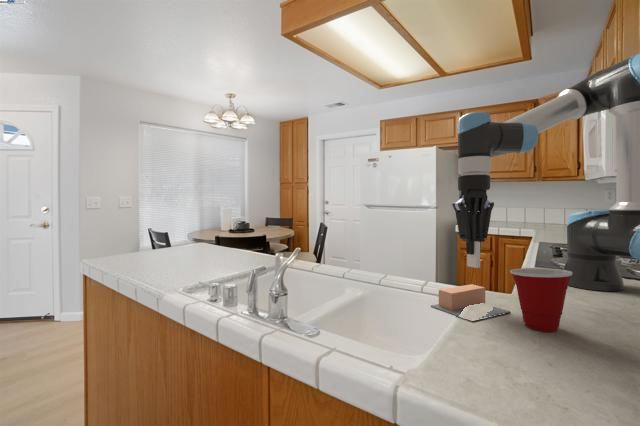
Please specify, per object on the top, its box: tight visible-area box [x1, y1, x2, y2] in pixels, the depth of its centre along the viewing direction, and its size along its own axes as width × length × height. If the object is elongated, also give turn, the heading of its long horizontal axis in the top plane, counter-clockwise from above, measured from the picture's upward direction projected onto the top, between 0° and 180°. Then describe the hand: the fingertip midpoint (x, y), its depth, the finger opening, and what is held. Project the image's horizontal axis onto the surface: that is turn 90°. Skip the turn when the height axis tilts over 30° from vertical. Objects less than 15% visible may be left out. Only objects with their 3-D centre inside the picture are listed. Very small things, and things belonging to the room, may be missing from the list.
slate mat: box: [430, 303, 511, 319], centre depth 79 cm, size 13×12×1 cm
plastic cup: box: [509, 267, 572, 333], centre depth 68 cm, size 11×11×12 cm
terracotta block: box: [438, 283, 486, 310], centre depth 82 cm, size 4×4×12 cm
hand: (473, 266), depth 84 cm, fingers closed
